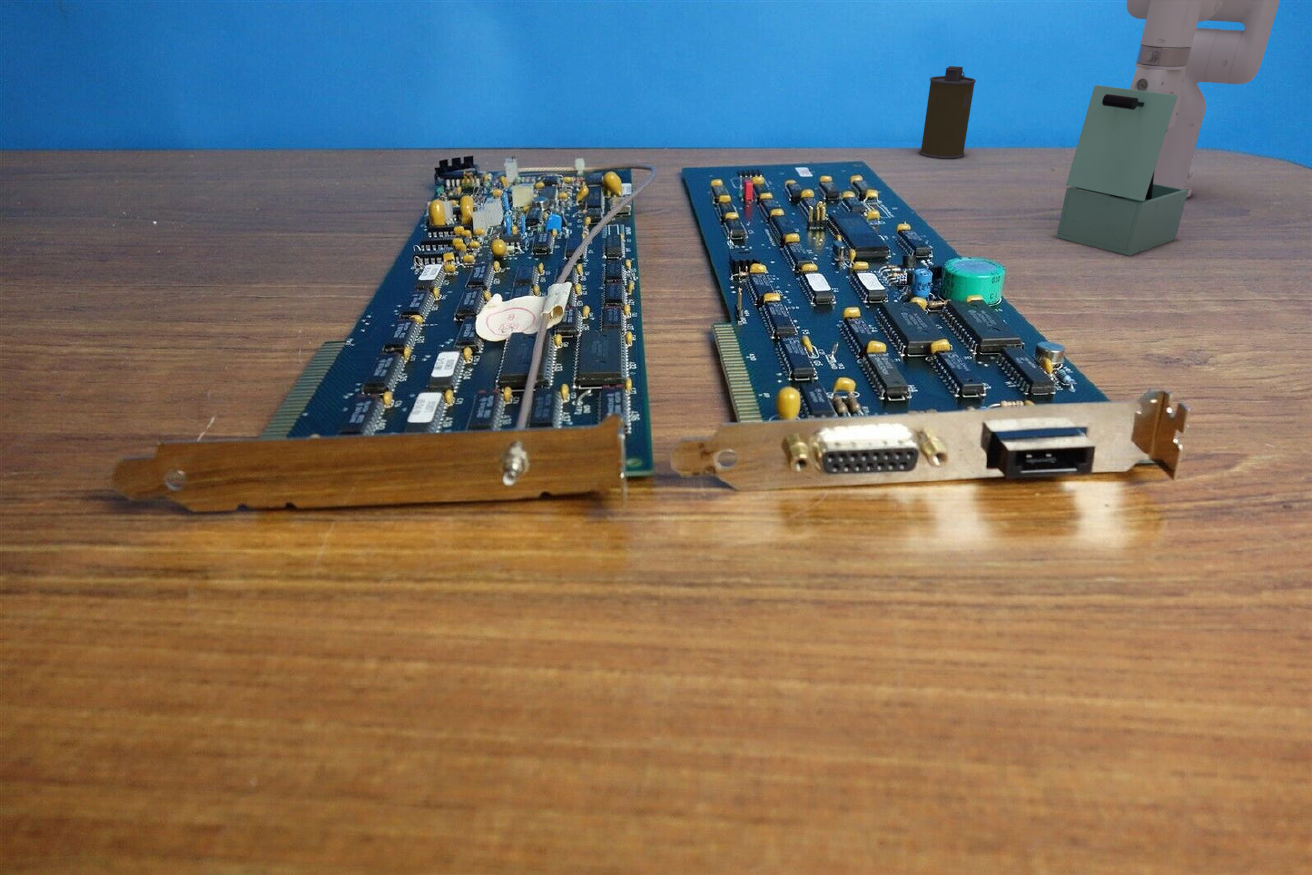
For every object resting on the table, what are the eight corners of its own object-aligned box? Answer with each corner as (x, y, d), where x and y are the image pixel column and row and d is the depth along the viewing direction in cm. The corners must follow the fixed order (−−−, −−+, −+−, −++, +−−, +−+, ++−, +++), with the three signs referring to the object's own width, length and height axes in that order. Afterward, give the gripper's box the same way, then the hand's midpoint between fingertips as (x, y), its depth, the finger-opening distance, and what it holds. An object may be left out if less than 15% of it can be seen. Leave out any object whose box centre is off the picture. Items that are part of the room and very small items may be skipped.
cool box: (1102, 223, 175) (1114, 175, 171) (1175, 240, 165) (1188, 190, 161) (1056, 237, 166) (1066, 187, 162) (1129, 256, 157) (1142, 204, 153)
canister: (956, 160, 222) (970, 71, 212) (913, 155, 227) (925, 67, 217) (969, 152, 230) (983, 66, 220) (928, 148, 235) (940, 63, 225)
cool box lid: (1096, 85, 156) (1081, 83, 153) (1178, 95, 146) (1163, 93, 143) (1068, 185, 162) (1053, 185, 159) (1144, 201, 153) (1129, 201, 150)
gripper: (1158, 64, 145) (1129, 181, 153) (1211, 56, 154) (1181, 167, 163) (1112, 59, 150) (1087, 172, 159) (1166, 52, 159) (1139, 160, 168)
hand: (1135, 169), depth 161 cm, fingers closed on speaker, 6 cm apart
